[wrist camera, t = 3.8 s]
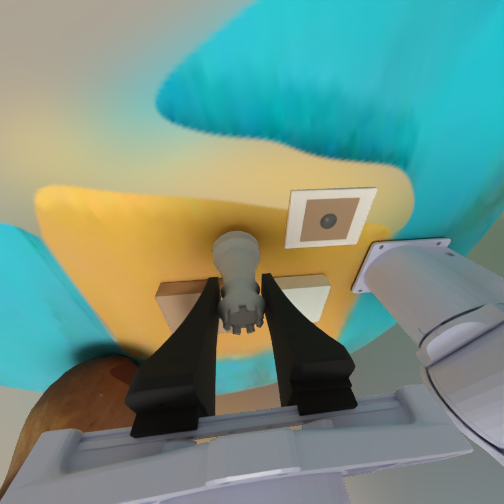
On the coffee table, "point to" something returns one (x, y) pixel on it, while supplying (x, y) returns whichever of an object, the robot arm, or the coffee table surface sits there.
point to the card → (327, 216)
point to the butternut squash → (78, 405)
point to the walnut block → (182, 301)
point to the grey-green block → (306, 293)
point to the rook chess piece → (239, 281)
